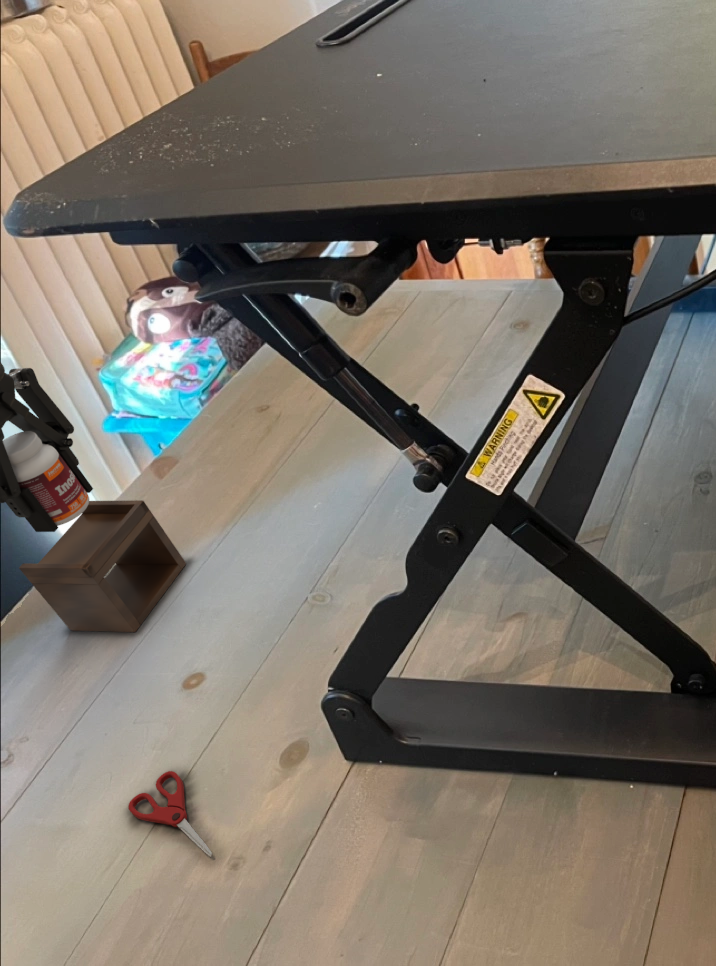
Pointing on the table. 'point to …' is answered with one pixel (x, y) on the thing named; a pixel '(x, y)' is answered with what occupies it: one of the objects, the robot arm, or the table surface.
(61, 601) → the shelf
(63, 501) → the pill bottle
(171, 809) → the scissors
